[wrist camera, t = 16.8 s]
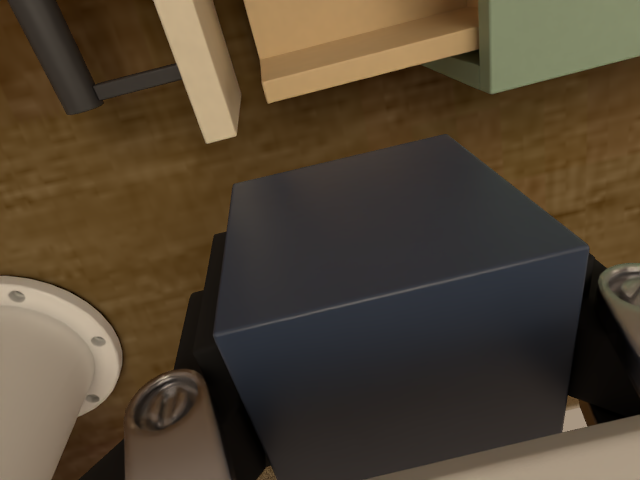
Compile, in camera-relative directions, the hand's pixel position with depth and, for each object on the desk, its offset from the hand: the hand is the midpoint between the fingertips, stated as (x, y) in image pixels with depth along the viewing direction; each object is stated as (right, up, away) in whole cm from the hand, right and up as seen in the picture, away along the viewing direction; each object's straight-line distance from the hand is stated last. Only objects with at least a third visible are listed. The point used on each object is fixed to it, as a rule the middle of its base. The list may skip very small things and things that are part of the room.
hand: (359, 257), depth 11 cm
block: (0, 0, 0) cm, 0 cm away
